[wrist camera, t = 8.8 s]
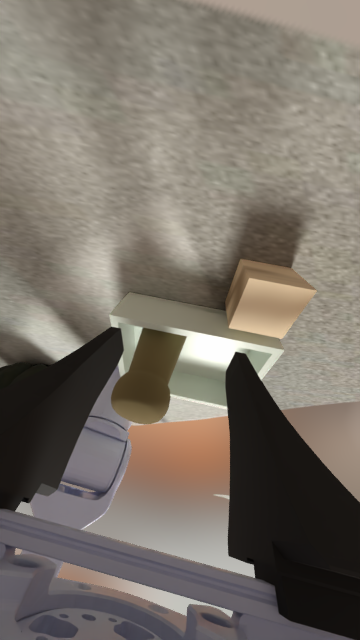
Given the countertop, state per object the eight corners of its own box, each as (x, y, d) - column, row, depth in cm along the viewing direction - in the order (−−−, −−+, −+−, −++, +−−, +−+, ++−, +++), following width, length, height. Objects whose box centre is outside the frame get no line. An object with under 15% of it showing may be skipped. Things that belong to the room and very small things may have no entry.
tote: (233, 381, 28) (236, 411, 24) (134, 360, 29) (121, 385, 25) (270, 319, 20) (284, 350, 16) (129, 292, 20) (109, 314, 16)
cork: (178, 307, 19) (150, 396, 11) (193, 343, 23) (180, 434, 14) (136, 317, 21) (83, 398, 13) (155, 348, 25) (123, 431, 16)
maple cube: (267, 309, 19) (282, 338, 15) (225, 301, 19) (228, 327, 15) (290, 267, 16) (317, 290, 12) (240, 258, 16) (249, 277, 12)
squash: (-47, 360, 28) (-81, 459, 25) (30, 368, 26) (3, 475, 24) (33, 358, 42) (17, 422, 39) (87, 363, 40) (74, 430, 37)
